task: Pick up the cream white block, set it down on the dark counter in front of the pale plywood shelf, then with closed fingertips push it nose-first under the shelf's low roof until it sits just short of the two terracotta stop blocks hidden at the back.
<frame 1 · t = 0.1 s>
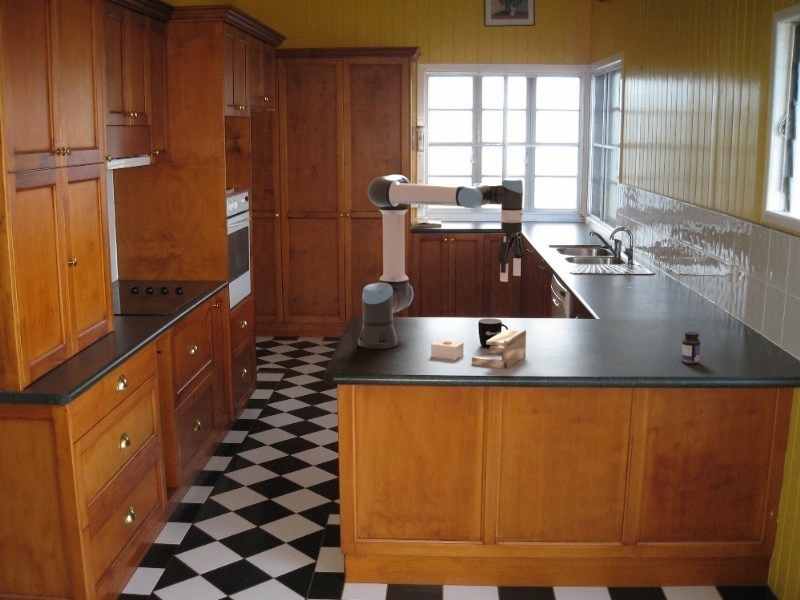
hand: (510, 278, 328), 28 cm above the countertop, fingers open, 13 cm apart
shelf: (497, 359, 322), on the countertop
mug: (493, 346, 342), on the countertop
pill bottle: (690, 363, 318), on the countertop
cream white block: (447, 356, 328), on the countertop
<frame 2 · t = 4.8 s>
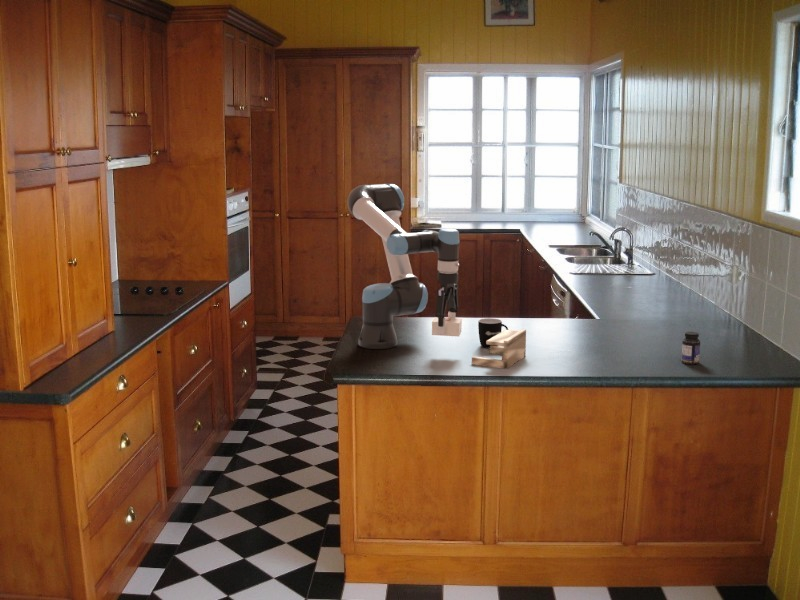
hand: (446, 331, 327), 9 cm above the countertop, fingers closed on cream white block, 8 cm apart
cream white block: (446, 333, 327), point 8 cm above the countertop, touching gripper
everything else where it was.
when the fingers open (0 cm above the countertop, at t = 8.4 s): cream white block stays where it is, on the countertop.
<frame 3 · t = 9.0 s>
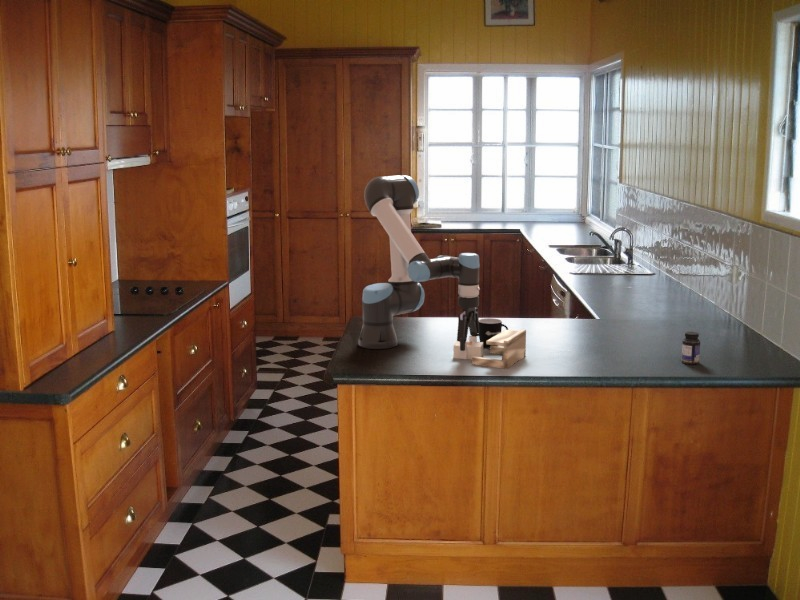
hand: (468, 356, 327), 0 cm above the countertop, fingers open, 8 cm apart
cream white block: (468, 356, 327), on the countertop
everything else where it was.
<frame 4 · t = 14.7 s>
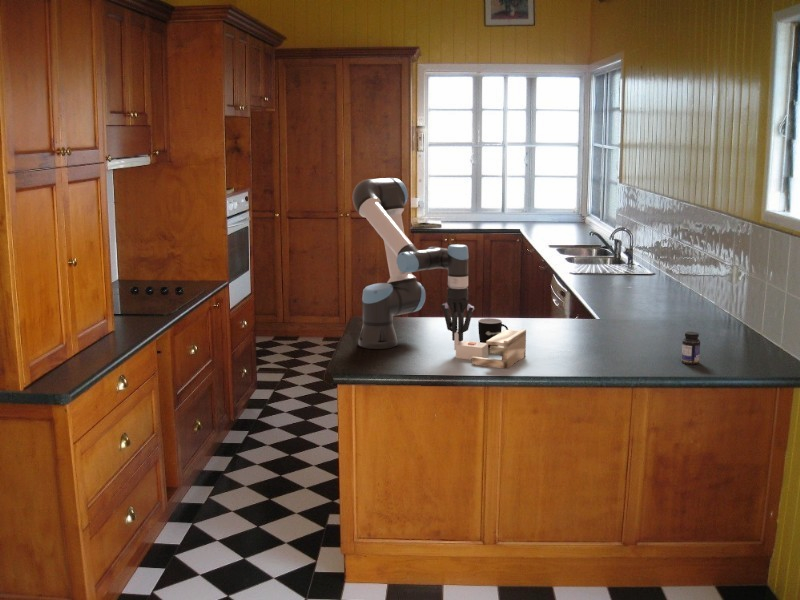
hand: (457, 349, 329), 2 cm above the countertop, fingers closed
cream white block: (471, 357, 326), on the countertop, touching gripper
everything else where it was.
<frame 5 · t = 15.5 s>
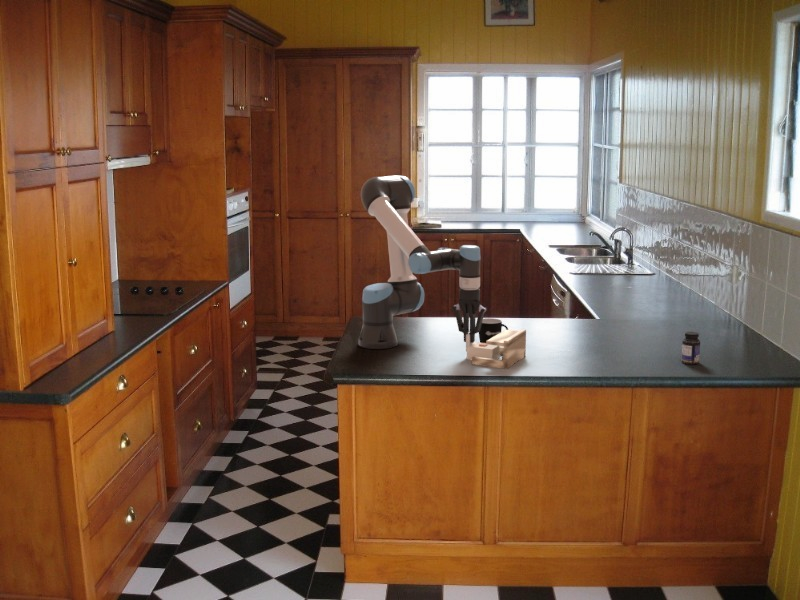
hand: (469, 350, 327), 2 cm above the countertop, fingers closed
cream white block: (483, 358, 324), on the countertop, touching gripper
everything else where it was.
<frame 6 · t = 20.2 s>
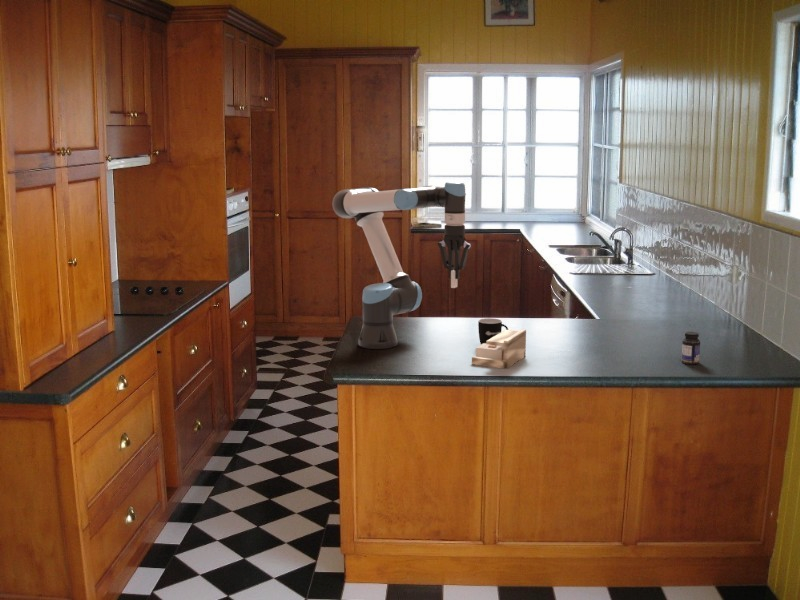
hand: (454, 287, 330), 24 cm above the countertop, fingers closed
cream white block: (492, 360, 323), on the countertop
everything else where it was.
at the end: cream white block 1.3 cm from the target spot, on the countertop; cream white block tilted 0°; the gripper is holding nothing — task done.
